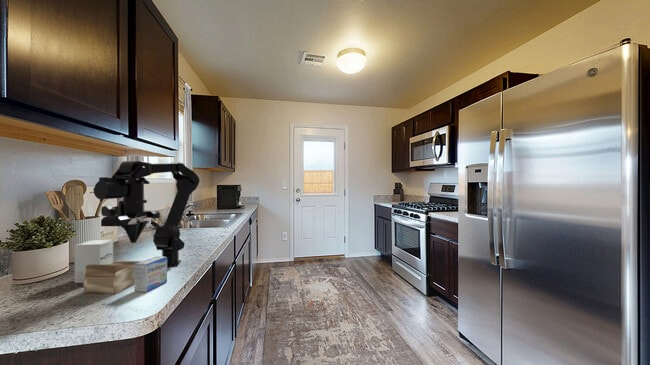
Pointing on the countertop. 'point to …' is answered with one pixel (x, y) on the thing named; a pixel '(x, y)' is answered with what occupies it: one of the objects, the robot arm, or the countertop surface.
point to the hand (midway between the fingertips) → (133, 242)
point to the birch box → (110, 281)
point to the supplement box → (92, 256)
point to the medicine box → (150, 273)
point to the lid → (106, 269)
